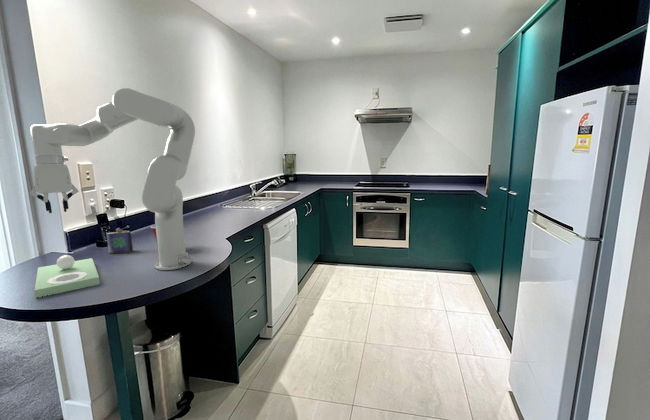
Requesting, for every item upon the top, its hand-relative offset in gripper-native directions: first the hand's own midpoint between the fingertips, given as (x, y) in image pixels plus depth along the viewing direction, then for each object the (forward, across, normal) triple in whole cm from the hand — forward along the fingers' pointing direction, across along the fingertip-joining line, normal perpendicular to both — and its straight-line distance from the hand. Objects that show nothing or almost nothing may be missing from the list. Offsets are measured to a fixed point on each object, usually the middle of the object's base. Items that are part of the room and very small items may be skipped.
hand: (57, 211), depth 118 cm
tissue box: (+22, 0, +12) cm, 25 cm away
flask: (+23, -19, -13) cm, 32 cm away
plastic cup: (+22, -35, -2) cm, 42 cm away
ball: (+17, 0, +8) cm, 19 cm away
